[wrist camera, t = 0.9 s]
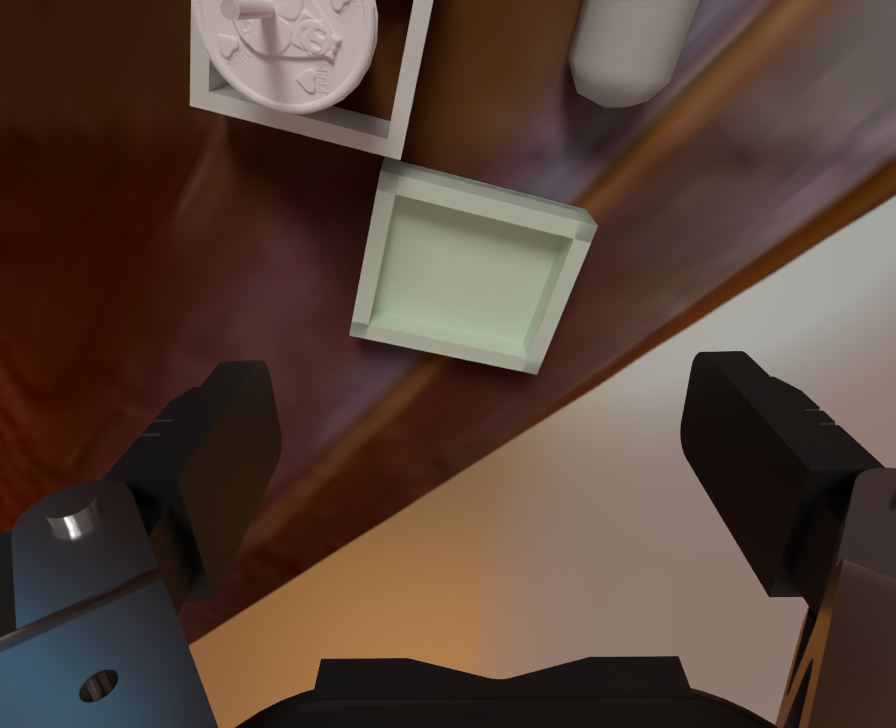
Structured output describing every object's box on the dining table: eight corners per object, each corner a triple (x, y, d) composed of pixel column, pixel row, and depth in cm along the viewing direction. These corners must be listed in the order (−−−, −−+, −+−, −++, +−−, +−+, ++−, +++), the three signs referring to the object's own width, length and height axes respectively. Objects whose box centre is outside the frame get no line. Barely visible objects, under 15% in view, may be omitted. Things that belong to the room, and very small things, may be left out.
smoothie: (289, -101, 25) (162, -191, 14) (415, -18, 27) (401, -33, 15) (243, 42, 28) (108, 70, 17) (360, 109, 30) (312, 177, 18)
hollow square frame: (221, 92, 30) (189, 105, 26) (230, -149, 25) (193, -177, 21) (404, 141, 31) (400, 160, 27) (449, -77, 26) (451, -91, 22)
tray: (355, 312, 37) (349, 335, 34) (384, 157, 32) (380, 170, 29) (530, 350, 38) (537, 374, 36) (585, 209, 33) (597, 225, 31)
